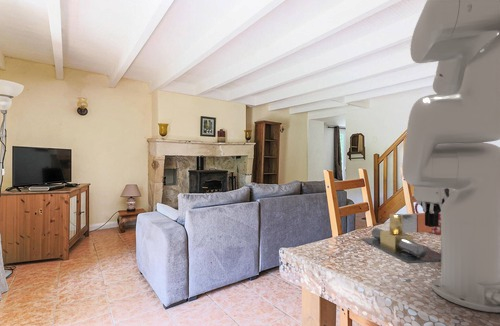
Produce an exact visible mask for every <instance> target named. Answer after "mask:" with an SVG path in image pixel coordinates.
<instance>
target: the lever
mask: <svg viewBox="0 0 500 326" xmlns="http://www.w3.org/2000/svg"><path fill="white" fill-rule="evenodd" d="M389 231H390V232H391V233H394V234H402V233H406V234H409V233H417V234H419V233H422V234H423V233H430V232H432V227H429V226H425V212H418V213H416V212H415V213H389Z"/></svg>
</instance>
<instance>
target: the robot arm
mask: <svg viewBox="0 0 500 326" xmlns="http://www.w3.org/2000/svg"><path fill="white" fill-rule="evenodd" d="M409 50H410V57H411V59H412V61H413V62H414V63H416V64H427V63H435V62H438V63H437V66H436V71H435V74H434V79H433V82H432V90H433V91H434V93H435V94H429V95H425V96H422V97H420V98H418V99H417V100H416V101H415V103H414V104H413V105H412V107H411V110H410V112H409V116H408V122H407V129H406V136H405V143H404V150H403V158H402V168H401V169H402V176H403V179H404V181H405V182H406V183H407V184H408V185H409V186H413V198H414V200H415V204H416V203H417V204H418V205H420V206H421V208H422V212H423V213H425V226H429V227H438V226H439V213H441V235H440V254H441V261H440V277H438V278H435V279H434V280H432V282H431V284H432V285H431V287H432V290H433V291H434V293H436V294H437V295H438V296H439V297H441V298H443V299H444V300H447V301H449V302H451V303H453V304H456V305H458V306H461V307H465V308H467V309H470V310H475V311H481V312H488V313H500V146H498V145H496V144H493V143H490V142H497V141H499V140H500V0H426V1H425V4H424V6H423V9H422V11H421V13H420V15H419V17H418V19H417V22H416V25H415V27H414V29H413V33H412V37H411V41H410V48H409ZM428 203H429V204H428Z"/></svg>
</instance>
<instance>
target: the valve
mask: <svg viewBox="0 0 500 326" xmlns="http://www.w3.org/2000/svg"><path fill="white" fill-rule="evenodd" d="M371 236H372V237H367V238H365V237H364V238H361V241H362V242H363V243H364V242H365V243H366V244H368V245H371V246H372V247H374V248H377V249H379V250H381V251H382V252H384V253H387V254H388V255H391V257H395V258H397V259H398V260H401V261H403V262H404V263H407V264H417V263H431V262H432V263H433V262H441V252H437V251H434V250H432V249H430V248H427V247H426V246H425V245H423V244H420V243H417V242H415V241H414V236H413V235H412V234H409V233H402V234H394V233H391V232H390V230H383V229H381V228H378V227H375V228H373V229H372V230H371Z"/></svg>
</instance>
